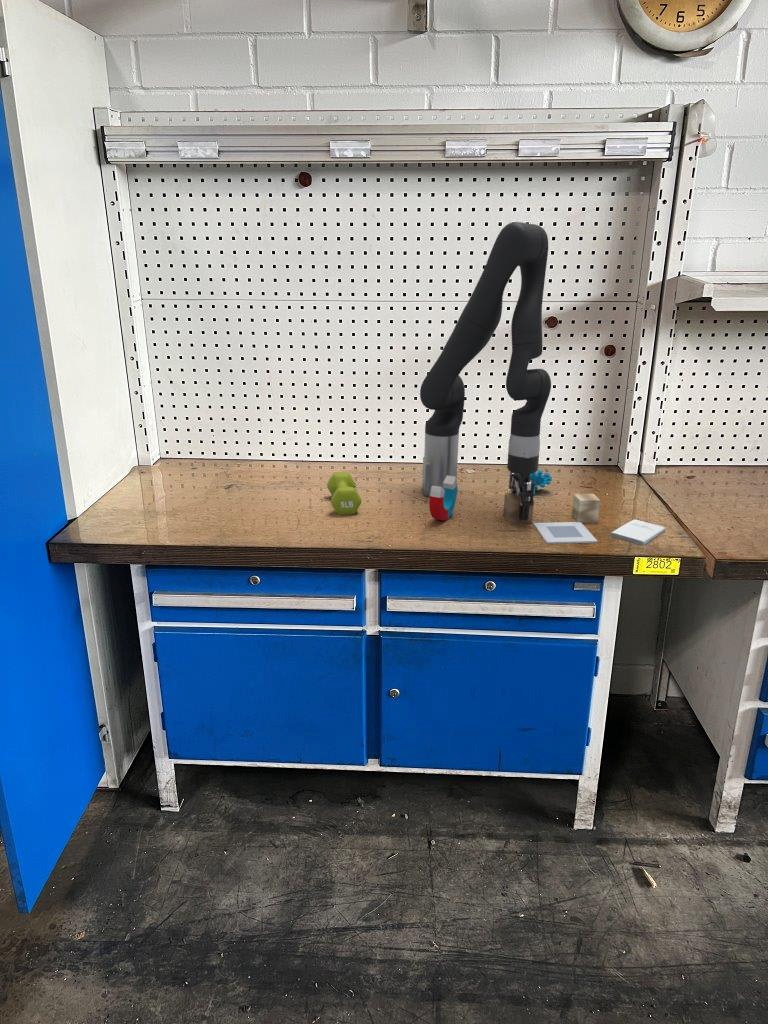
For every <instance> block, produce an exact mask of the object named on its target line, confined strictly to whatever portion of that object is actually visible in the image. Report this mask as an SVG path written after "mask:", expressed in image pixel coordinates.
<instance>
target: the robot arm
mask: <svg viewBox="0 0 768 1024" xmlns="http://www.w3.org/2000/svg"><path fill="white" fill-rule="evenodd" d="M491 248H492V249H491V250H490V254H489V256H488V259H487V261H486V264H485V266H484V268H483V270H482V273H481V276H480V277H479V279H478V280H477V283H476V285H475V287H474V289H473V292H472V293H471V296H470V297H469V299H468V301H467V302H466V304H465V307H464V309H463V310H462V312H461V313H460V316H459V318H458V320H457V322H456V324H455V326H454V328H453V330H452V332H451V334H450V336H448V337H449V338H448V339H447V341H446V342H445V343H446V344H445V345H444V347H443V349H442V351H441V353H440V355H439V356H438V357H437V359H436V361H435V362H434V364H433V365H432V367H431V369H430V370H429V372H428V373H427V374H426V376H425V378H424V379H423V381H422V383H421V385H420V390H419V391H420V392H419V399H420V402H421V403H422V406H424V407H425V408H426V409H428V410H431V411H433V410H434V411H433V413H432V415H431V417H430V418H428V419H427V420H426V422H425V426H424V450H423V452H424V453H423V457H422V482H421V483H422V484H421V485H422V486H421V487H422V493H423V494H424V497H425V496H426V497H428V496H429V497H430V491H431V487H432V486H437V487H442V488H443V489H444V485H443V482H444V480H445V478H446V476H447V475H448V476H454V477H456V478H457V479H458V461H459V457H458V456H459V439H460V438H459V437H460V434H459V433H460V427H461V425H462V422H463V419H464V410H465V407H464V406H465V399H466V398H465V397H466V395H465V393H466V392H465V390H466V388H465V384H464V381H463V379H462V377H461V376H460V375H461V372H462V370H464V369H465V367H466V366H467V365H468V364H470V363H471V361H472V360H474V358H476V357H477V356H478V355H479V354H480V352H481V351H483V350H484V348H485V347H486V346H487V345H488V343H489V342H490V340H491V338H492V336H493V335H494V333H495V331H496V329H497V328H498V326H499V323H500V321H501V318H502V313H503V302H504V301H503V299H504V298H503V297H504V292H505V289H506V287H507V284H508V283H509V281H510V279H511V278H512V276H513V273H514V272H515V270H516V269H517V268H518V267H519V269H520V277H521V278H520V280H521V281H520V290H519V295H518V299H517V302H516V304H515V307H514V311H513V314H512V318H511V325H510V326H511V327H510V329H511V330H510V331H511V355H510V360H509V366H508V370H507V374H506V377H505V378H506V380H505V389H506V392H507V394H508V396H509V397H510V399H512V400H514V401H525V404H524V405H523V406H521V407H519V408H516V409H515V410H513V412H512V413H511V418H510V419H511V420H510V433H509V434H510V435H509V441H508V449H507V451H508V452H507V467H506V468H507V471H509V483H508V489H510V492H509V493H517V497H519V500H520V510H519V519H520V520H528V517H529V506H533V500H534V496H535V495H534V482H532V481H531V479H530V474H532V473H537V472H538V470H539V464H540V463H539V460H540V450H541V448H540V447H541V422H542V416H543V414H544V411H545V409H546V405H547V403H548V400H549V398H550V394H551V390H552V379H551V377H550V374H549V373H548V372H547V370H545V369H543V368H533V369H532V368H531V369H530V368H529V369H528V367H529V364H530V361H532V360H534V359H536V358H539V357H541V356H542V354H543V320H542V319H543V316H542V315H543V314H542V313H543V298H544V288H545V279H546V271H547V270H546V269H547V265H548V256H549V237H548V233H547V232H546V230H545V229H544V228H543V227H542V226H541V225H538V224H535V223H529V222H521V221H520V222H519V221H513V222H509V223H508V224H506V225H505V226H504V227H503V228H502V229H501V230H500V232H499V233H498V234H497V236H496V239H495V241H494V243H493V246H492V247H491ZM526 497H527V501H525V498H526Z"/></svg>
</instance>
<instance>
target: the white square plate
mask: <svg viewBox="0 0 768 1024" xmlns="http://www.w3.org/2000/svg"><path fill="white" fill-rule="evenodd" d="M532 525H533V526H534V528H535V529H536V530H537V532H538V534H540V536H541V537H542V539H543V540H544V542H545V543H546V544H547V545H549V544H590V543H591V544H593V543H595V544H597V543H598V541H599V540H597V539H596V537H594V535H593V534H592V533H591V532H590V530H588V528H587V527H586V526H585V525H584V523H581V522H577V521H569V522H567V521H565V522H564V521H563V522H561V521H559V522H555V521H554V522H532Z"/></svg>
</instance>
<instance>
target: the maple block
mask: <svg viewBox="0 0 768 1024" xmlns="http://www.w3.org/2000/svg"><path fill="white" fill-rule="evenodd" d="M600 504H601V500H600V499H599V498H598V497H597V496H596V495H595V494H594V493H574V494H573V500H572V510H571V517H572V518H573V519H574V521H575V522H581V523H582V524H589V523H591V524H596V523H598V521H599V515H600V514H599V512H600V507H601V506H600Z"/></svg>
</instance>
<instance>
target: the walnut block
mask: <svg viewBox="0 0 768 1024" xmlns="http://www.w3.org/2000/svg"><path fill="white" fill-rule="evenodd" d="M503 499H504V500H503V501H504V502H503V511H502V515H503V517H504V519H505V520H506V522H507V523H508V524H533V519H534V508H535V500H534V499H533V506H529V517H528V520H520V519H519V510H520V500H519V497H517V493H511V492H505V493H504V498H503ZM525 501H527V497H526V498H525Z"/></svg>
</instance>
